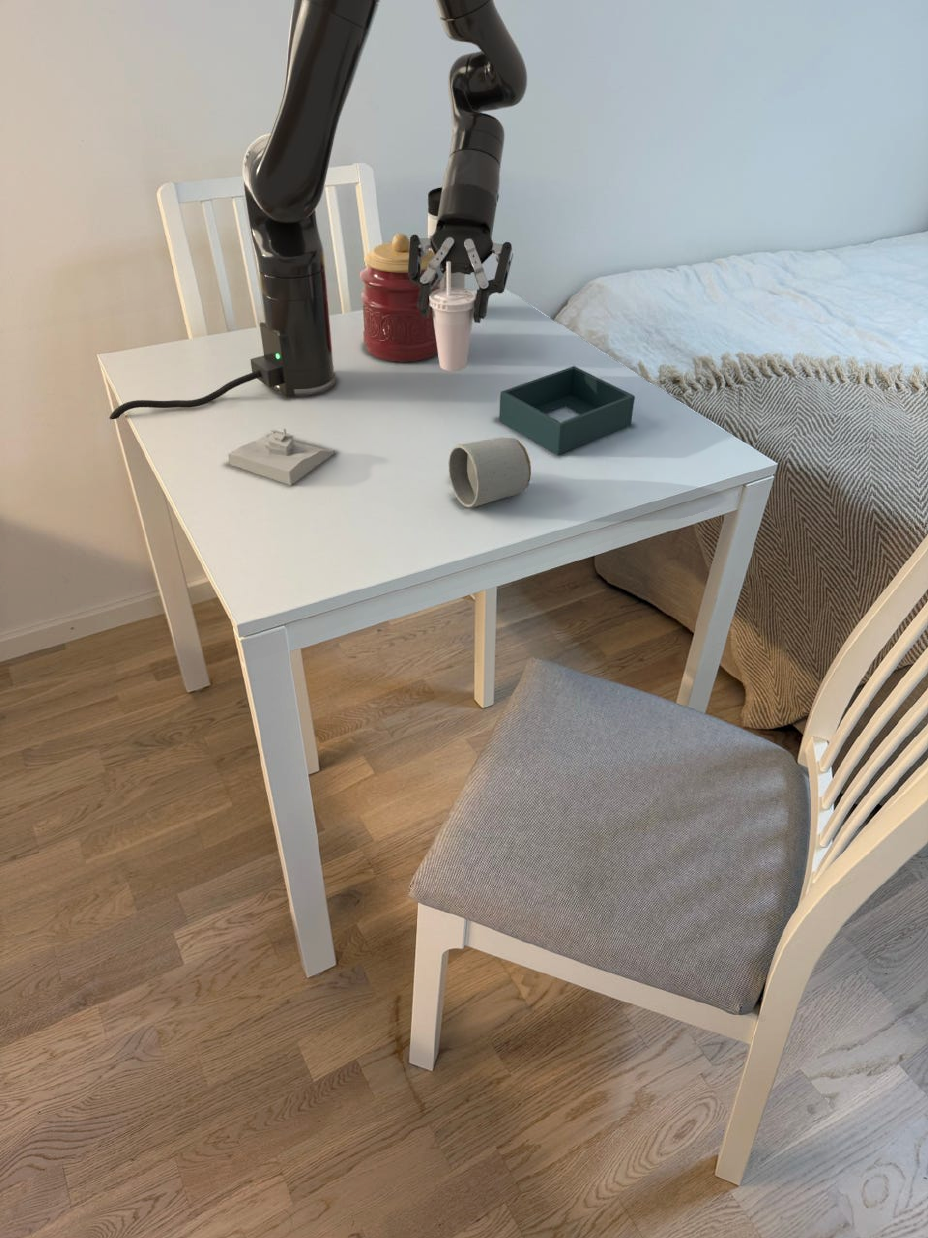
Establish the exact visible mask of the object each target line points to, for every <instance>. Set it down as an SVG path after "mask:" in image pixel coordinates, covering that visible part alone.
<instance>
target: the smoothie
mask: <svg viewBox="0 0 928 1238" xmlns="http://www.w3.org/2000/svg"><path fill="white" fill-rule="evenodd" d="M475 300H476V292H474V291H472V290H470V289H468V288H465V287H464V288H456V287H451V262H449V261H448V262H447V288H442V289H438V290H435V291H433V292H432V293H431V294H430V295H429V305H430V306H431V307H432V313H433V320H434V328H435V335H436V342H437V349H438V353H437V355H438V363H439V367H440V368H441V369H442V370H444V371H449V372H458V371H461V370H464V369H466V368H467V363H468V356H469V355H468V354H469V348H470V342H471V341H470V340H471V335H472V327H473V326H472V325H473V321H474V319H473V313H474V306H475Z"/></svg>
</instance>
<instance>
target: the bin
mask: <svg viewBox="0 0 928 1238" xmlns="http://www.w3.org/2000/svg"><path fill="white" fill-rule="evenodd" d="M635 399H636V396H635V395H634V394H632V393H629V392H628V391H626V390H624V389H622V388H620V387H617V386H616V385H613V384H612V383H610V382H607V381H606V380H603V379H602V378H599V377H597V376H595V375H593V374H592V373H589V372H587V371H585V370H583V369H581V368H579V367H578V366H576V365H572V366H569V367H568V368H564V369H562V370H559V371H555V372H553V373H551V374H550V373H549V374H547V375H545V376H542V377H539V378H536V379H533V380H530V381H527V382H524V383H521V384H518V385H516V386H513V387H510V388H507V389H505V390H501V391H500V392H499V413H498V415H499V416H498V421H499V422H500V423H502V424H503V425H505V426H507V427H509V428H510V429H511V430H514V431H515V432H517V433H519V434H521V435H522V436H524V437H525V438H527V439H529V440H531V441H533V442H534V443H536V444H537V445H540V446H541V447H542V448H545V449H546V450H547V451H550V452H551V453H553V454H555V455H556V456H560V455H562V454H565V453H567V452H569V451H573V450H574V449H576V448H577V449H578V448H579V447H582V446H584V445H586V444H589V443H591V442H594V441H596V440H598V439H601V438H604V437H605V436H608V435H611V434H613V433H616V432H618V431H620V430H623V429H625V428H628V427H631V426H632V420H633V412H634V405H635ZM564 407H567V408H569V409H571V410H573V411H575V412H576V413H578V414H579V415H577V416H574V417H571V418H569V419H566V420H563V421H559V420H558V419H555V418H554V417H552V416H550V415H548V413H551V412H553V411H556V410H559V409H562V408H564Z"/></svg>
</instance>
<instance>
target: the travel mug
mask: <svg viewBox="0 0 928 1238" xmlns="http://www.w3.org/2000/svg"><path fill="white" fill-rule="evenodd" d="M427 193H428V194H427V206H428V208H427V238H431V237H432V235H433V234H434V232H435V230H436V224H437V218H438V211H439V205H440V199H441V193H442V187H441V186H440V187H436V188H432V189H431V190H430V191H429V192H427ZM429 250H430V251H432V252H433V250H432V248H430V249H429ZM465 277H466V274H463V273H460V272H458V273H451V287H456V288H464V289H465V283H466V282H465V280H466V279H465ZM442 288H447V272H446V273H445V275H444V276H443V279H442V280H441V281H440V289H442Z"/></svg>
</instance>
